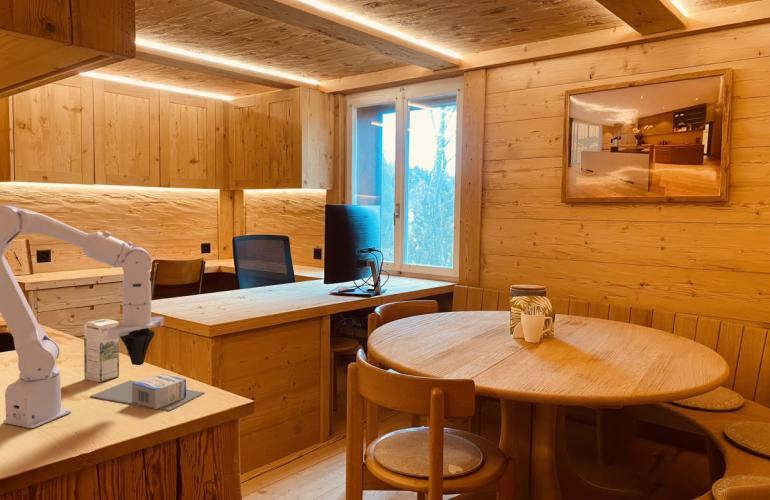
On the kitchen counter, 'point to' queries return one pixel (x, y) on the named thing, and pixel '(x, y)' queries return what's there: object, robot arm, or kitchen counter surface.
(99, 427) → the kitchen counter surface
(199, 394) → the mat
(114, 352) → the syrup box
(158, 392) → the medicine box
